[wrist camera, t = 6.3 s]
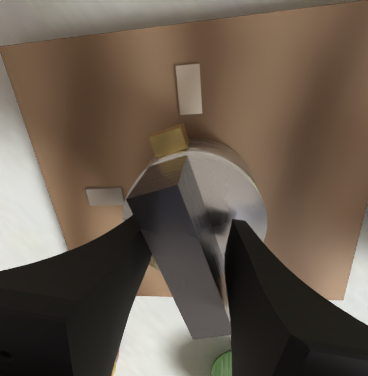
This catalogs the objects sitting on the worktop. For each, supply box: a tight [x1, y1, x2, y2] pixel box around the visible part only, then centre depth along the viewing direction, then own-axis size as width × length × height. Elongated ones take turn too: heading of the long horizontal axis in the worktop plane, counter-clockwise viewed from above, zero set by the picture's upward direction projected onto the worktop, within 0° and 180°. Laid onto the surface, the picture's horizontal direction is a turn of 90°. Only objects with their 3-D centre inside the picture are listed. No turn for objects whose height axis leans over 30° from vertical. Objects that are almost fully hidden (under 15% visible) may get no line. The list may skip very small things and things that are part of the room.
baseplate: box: [0, 0, 368, 300], centre depth 16 cm, size 20×18×2 cm
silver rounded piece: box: [123, 123, 267, 339], centre depth 12 cm, size 8×7×7 cm
